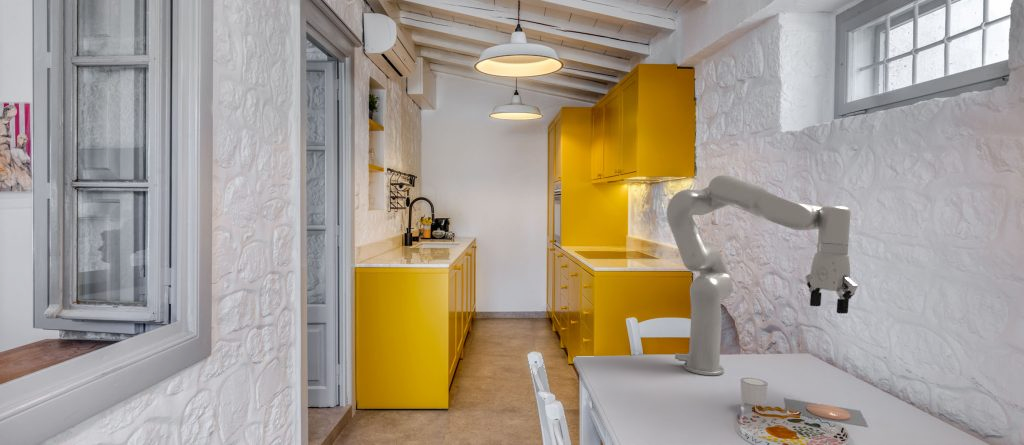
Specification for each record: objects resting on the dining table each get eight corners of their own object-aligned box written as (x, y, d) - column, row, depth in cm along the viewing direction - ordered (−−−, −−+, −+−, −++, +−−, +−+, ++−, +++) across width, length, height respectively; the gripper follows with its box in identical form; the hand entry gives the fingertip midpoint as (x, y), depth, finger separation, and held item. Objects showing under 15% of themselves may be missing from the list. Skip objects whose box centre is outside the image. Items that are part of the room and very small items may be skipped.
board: (786, 418, 142) (786, 413, 142) (784, 403, 153) (784, 398, 153) (868, 433, 135) (868, 427, 135) (859, 416, 146) (860, 410, 146)
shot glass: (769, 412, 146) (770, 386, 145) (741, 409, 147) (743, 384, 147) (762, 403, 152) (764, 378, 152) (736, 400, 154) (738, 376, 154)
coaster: (808, 415, 141) (808, 413, 141) (804, 402, 150) (805, 401, 150) (853, 423, 137) (853, 421, 137) (847, 409, 146) (847, 408, 146)
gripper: (798, 246, 163) (794, 303, 164) (846, 252, 147) (842, 316, 148) (819, 246, 165) (816, 303, 166) (869, 253, 148) (865, 316, 149)
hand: (828, 309), depth 157 cm, fingers open, 9 cm apart
